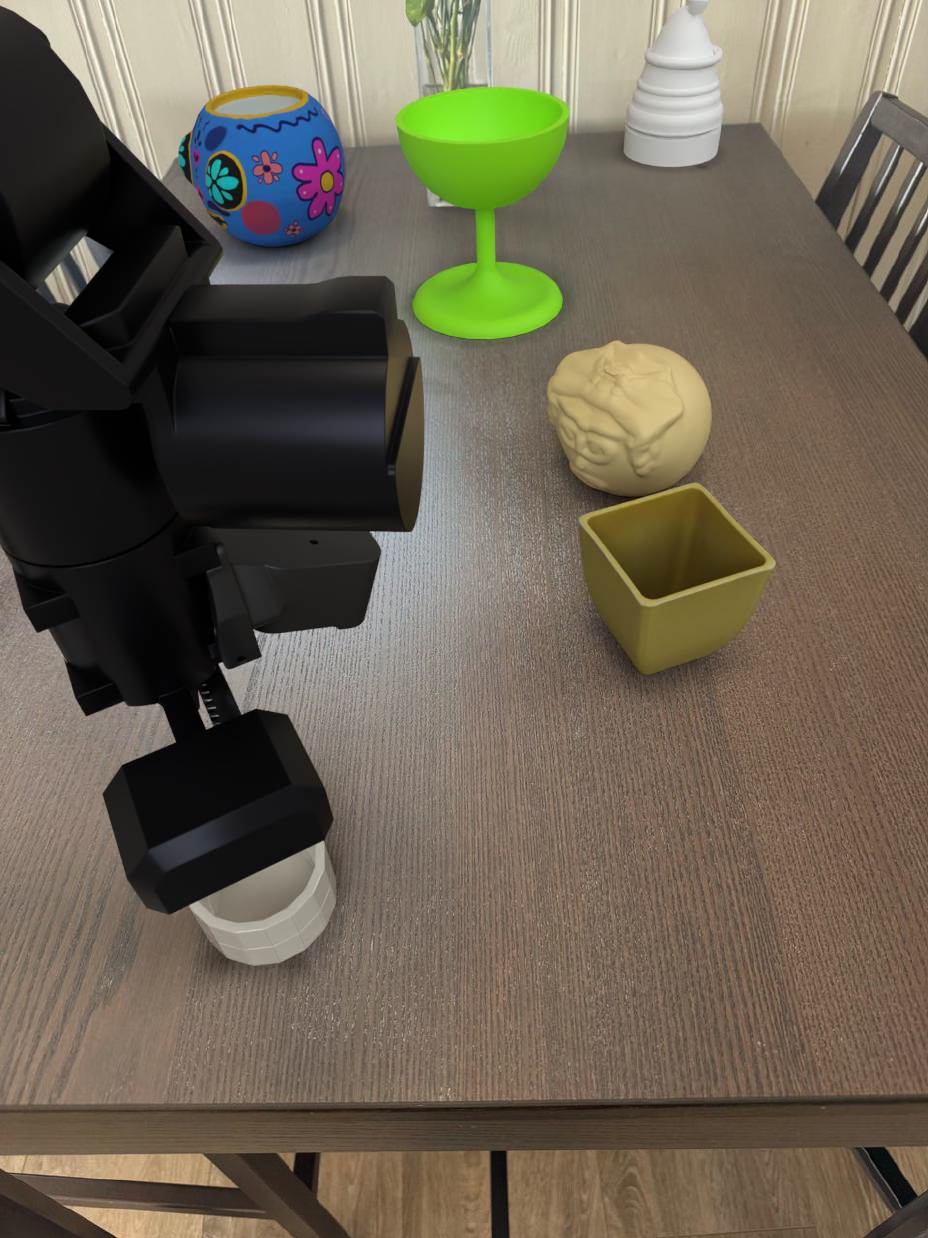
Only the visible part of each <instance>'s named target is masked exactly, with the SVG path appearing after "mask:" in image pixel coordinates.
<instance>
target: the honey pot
mask: <svg viewBox="0 0 928 1238" xmlns="http://www.w3.org/2000/svg"><path fill="white" fill-rule="evenodd" d="M709 1H710V0H687V5H680V7H679V8H677V9H676V10H675V11H674V12H673V13H671V15H670V16H669V17H668V18H667V20H666V22H665V23H664V24H663V26H662V28H661V30H660V31H659V32H658V34H657V36H656V39H655V41H654V43H653V44H652V45H651V46H649V47H648V48H646V50H645V51H644V53H643V56H644V57H643V58H644V60H645V63H644V65H643V68H642V71H641V73H640V75H639V76H638V78H637V80H636V87H635V88H634V90H633V92H632V98H631V100H630V101H629V103H628V105H627V107H626V116H625V127H624V138H623V154H624V155H625V156H626V158H628V159H630V160H631V161H633V162H637V163H639V164H642V165H648V166H652V167H661V168H681V167H693V166H696V165H701V164H703V163H704V164H705V163H707V162H709V161H711V160H713V159H714V158H715V157H716V156H717V154H718V151H719V145H720V139H721V133H722V123H723V116H724V114H725V112H724V105H723V101H722V100H721V99H722V92H721V88H720V85H721V80H720V77H719V75H718V71H717V64H718V63H720V62H721V61H722V59H723V57H724V52H723V49H722V48H721V47H719V46H718V45H717V44H713V43H712V41H711V37H710V34H709V31H708V28H707V25H706V22H705V21H704V18H703V17H702V15H701V14H702V13H704V11H705V10H706V9H707V7H708V4H709Z"/></svg>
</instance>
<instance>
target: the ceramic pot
mask: <svg viewBox="0 0 928 1238" xmlns="http://www.w3.org/2000/svg"><path fill="white" fill-rule="evenodd" d="M177 152H178V153H177V155H178V163H179V168H180V170H181V172H182V174H183V176H184V177H185V179H186V180H187V181H188V182H189V183H190V185H191V186H193V188H195V189H196V191H197V195H198V196H199V198H200V200H201V202H202V204H203V206H204V207H205V209H206V210H205V211H206V212H207V213H208V215H209V216H210V218H211V219H212V220H214V222H216V223H217V224H218V225H219V226H220V228H222V229H223V231H224V232H226V233H227V234H229V235H230V236H232V237H234V238H235V239H237V240H240V241H243V242H245V243H247V244H248V243H249V244H253V245H257V246H262V247H284V246H291V245H295V244H299V243H301V242H304V241H307V240H309V239H310V238H312V237H314V236H315V235H317V234H319V233H320V232H322V231H323V230H324V229H326V228H327V227H328V226H329V224H331V223H332V221H333V220H334V219H335V218H336V216H337V213H338V210H339V208H340V205H341V201H342V198H343V194H344V190H345V185H346V179H347V159H346V154H345V149H344V147H343V143H342V140H341V138H340V136H339V133H338V131H337V129H336V126H335V124H334V123H333V121H332V119H331V117H330V115H329V114H328V112H327V111H326V109H325V108H324V106H323V105H322V104H321V102H319V100H317V99H316V98H315V97H314V96H312V95H311V94H310V93H309V92H307V91H306V90H304V89H301V88H298V87H295V86H290V85H281V84H267V85H264V84H263V85H254V86H253V85H252V86H245V87H241V88H237V89H231V90H229V91H226V92H223V93H220V94H218V95H216V96H214V97H212V98H210V99H209V100H208V101H207V102H206V103H205V104H204V105H203V107H202V108H201V110H200V111H199V112H198V114H197V117H196V119H195V122H194V125H193V126H192V129H191V130H190V131H189V132H188V133H187V134H185V135H184V136H183V138H182V139H181V140H180V142H179V146H178V151H177Z"/></svg>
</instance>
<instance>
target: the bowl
mask: <svg viewBox="0 0 928 1238" xmlns="http://www.w3.org/2000/svg"><path fill="white" fill-rule="evenodd" d="M336 904H337V877H336V874H335V870H334V867H333V864H332V862H331V858H330V855H329V852H328V848H327V845H326V843H325V840H324V841H322V842H320V843H318V844H316V845H314V846H311V847H309V848H307V849H305V850H303V851H301V852H299V853H297V854H295V855H293V856H291V857H289V858H287V859H284V860H282V861H280V862H278V863H276V864H274V865H272V866H270V867H268V868H266V869H264V870H262V871H259V872H257V873H255V874H253V875H251V876H249V877H247V878H245V879H243V880H241V881H239V882H237V883H235V884H232V885H230V886H228V887H226V888H224V889H222V890H220V891H218V892H216V893H214V894H212V895H210V896H208V897H205V898H203V899H201V900H199V901H197V902H195V903H193V904H191V905H189V906H188V908H189V909H190V911H191V912H192V914H193V916H194V917H195V919H196V921H197V923H198V924H199V926H200V927H201V929H202V931H203V932H204V934H205V936H206V937H207V939H208V941H209V943H210V944H212V946H214V947H215V948H216V949H217V950H218V951H219V952H220V953H221V954H222V955H223V956H224V957H225V958H227V959H229V960H231V961H235V962H239V963H242V964H245V965H249V966H253V967H255V966H257V967H258V966H264V965H272V964H280V963H282V962H284V961H286V960H289V959H290V958H292V957H294V956H296V955H298V954H300V953H302V952H304V951H306V949H308V948H309V947H310V946H311V945H312V944H313V942H314V941H316V939H317V938H318V937H319V936H320V935H321V934H322V932H324V931H325V930H326V927H327V926H328V924H329V921H330V919H331V916H332V914H333V912H334V909H335V906H336Z"/></svg>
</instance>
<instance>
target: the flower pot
mask: <svg viewBox="0 0 928 1238" xmlns="http://www.w3.org/2000/svg"><path fill="white" fill-rule="evenodd" d="M577 521H578V522H577V523H578V531H579V542H580V551H581V553H580V554H581V562H582V571H583V577H584V582H585V585H586V587H587V591H588V594H589V596H590V598H591V601H592V603H593V605H594V607H595V609H596V611H597V612H598V614H599V616H600V617H601V619H602V620H603V622H604V624H605V626H606V627H607V628H608V630H609V631H610V632H611V634H612V635H613V636H614V638H615V640H616V641H617V643H618V644H619V645H620V647H622V649H623V651H624V652H625V654H626V655H627V657H628V658H629V659H630V661H631V662H632V664H633V665H634V667H635V669H636V670H637V671H638V673H641V674H642V675H644V676H650V675H654V674H656V673H659V672H662V671H665V670H668V669H671V668H674V667H676V666H679V665H683V664H685V663H688V662H692V661H694V660H697V659H701V658H704V657H707V656H709V655H710V654H712V653H714V652H716V651H717V650H719V649H721V648H722V647H724V646H725V645H727V644H728V643H729V642H731V641H732V640H733V639H734V638H735V637H737V636H738V635H739V634H740V633H741V631H743V629H744V628H745V627H746V625H747V624H748V623H749V621H750V620H751V619H752V616H753V614H754V612H755V610H756V608H757V606H758V604H759V602H760V600H761V598H762V596H763V593H764V591H765V590H766V587H767V585H768V583H769V581H770V578H771V576H772V574H773V572H774V570H775V568H776V565H777V562H776V560H775V559H774V558H773V557H772V556H771V554H770V553H769V552H768V551H767V550H765V549H764V548H763V546H761V544H760V543H759V542H758V541H756V540H755V538H753V537H752V536H751V535H750V533H748V531H746V530H745V529H744V528H743V526H741V525H740V524H739V523H738V522H737V521H736V520H735V519H734V518H733V517H732V515H730V513H729V512H728V511H727V510H726V509H725V507H723V506H722V504H721V503H720V502H719V501H718V500H717V499H716V498H715V496H713V495H712V493H711V492H710V491H709V490H708V489H706V487H704V486H703V485H701V484H700V483H699V482H692V483H691V482H690V483H687V484H683V485H679V486H676V487H674V488H669V489H665V490H662V491H659V492H656V493H653V494H649V495H645V496H642V497H639V498H636V499H633V500H629V501H625V502H622V503H619V504H615V505H612V506H608V507H604V508H601V509H597V510H593V511H590V512H587V513H585V514H582V515H580V516H578V518H577Z"/></svg>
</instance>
